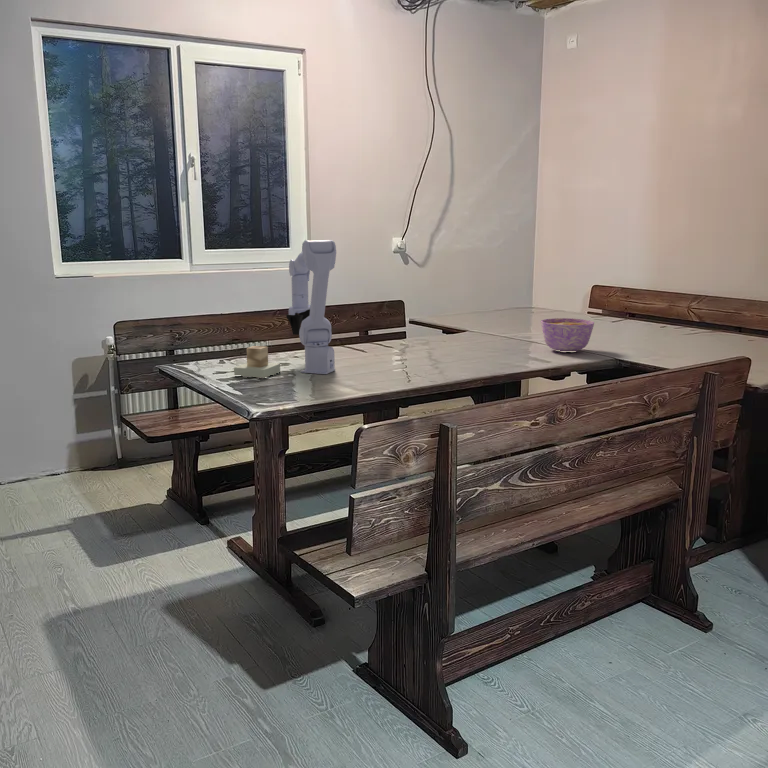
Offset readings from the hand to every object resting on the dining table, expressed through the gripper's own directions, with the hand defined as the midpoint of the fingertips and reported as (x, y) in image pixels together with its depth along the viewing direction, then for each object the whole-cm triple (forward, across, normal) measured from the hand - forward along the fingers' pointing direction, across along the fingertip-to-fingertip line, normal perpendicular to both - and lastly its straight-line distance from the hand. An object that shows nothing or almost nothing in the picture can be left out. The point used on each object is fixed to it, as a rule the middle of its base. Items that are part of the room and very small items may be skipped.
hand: (300, 333), depth 272 cm
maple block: (+7, +25, -4) cm, 26 cm away
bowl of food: (+11, -55, +86) cm, 103 cm away
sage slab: (+10, +25, -4) cm, 27 cm away
